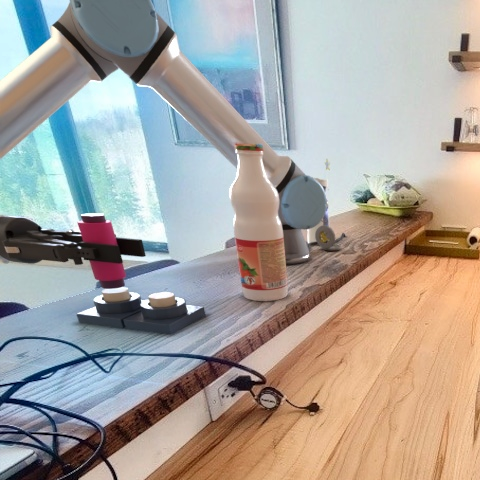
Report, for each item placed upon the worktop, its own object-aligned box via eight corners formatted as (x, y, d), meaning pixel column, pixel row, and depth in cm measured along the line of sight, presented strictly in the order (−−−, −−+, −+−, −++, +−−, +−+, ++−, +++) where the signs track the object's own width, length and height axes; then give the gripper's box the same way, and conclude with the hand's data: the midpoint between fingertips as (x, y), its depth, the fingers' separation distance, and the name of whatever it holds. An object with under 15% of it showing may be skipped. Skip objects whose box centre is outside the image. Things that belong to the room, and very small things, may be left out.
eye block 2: (164, 310, 80) (160, 292, 79) (205, 315, 79) (202, 297, 77) (125, 329, 72) (119, 309, 70) (171, 334, 71) (166, 314, 69)
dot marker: (111, 281, 76) (91, 211, 70) (134, 283, 76) (115, 214, 70) (91, 288, 72) (67, 215, 66) (115, 290, 72) (93, 217, 66)
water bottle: (317, 239, 149) (313, 157, 136) (336, 242, 145) (334, 158, 132) (300, 242, 142) (295, 156, 130) (320, 246, 139) (316, 158, 126)
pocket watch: (340, 247, 139) (339, 214, 134) (343, 252, 132) (342, 218, 127) (314, 247, 137) (313, 213, 132) (316, 252, 130) (315, 217, 125)
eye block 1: (122, 305, 82) (117, 287, 80) (162, 310, 80) (157, 292, 79) (79, 323, 73) (72, 303, 71) (123, 328, 72) (117, 308, 70)
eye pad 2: (160, 300, 76) (158, 290, 75) (181, 302, 75) (179, 293, 74) (145, 307, 73) (142, 297, 72) (166, 309, 72) (164, 299, 71)
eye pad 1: (116, 295, 77) (113, 285, 76) (135, 297, 77) (133, 288, 76) (98, 301, 74) (95, 292, 73) (119, 304, 73) (116, 294, 72)
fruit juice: (287, 302, 88) (273, 145, 74) (240, 302, 86) (216, 142, 72) (289, 289, 96) (277, 145, 82) (246, 289, 94) (225, 142, 80)
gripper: (62, 251, 83) (170, 263, 79) (-34, 273, 68) (95, 288, 64) (47, 210, 79) (161, 220, 76) (-58, 222, 64) (79, 235, 61)
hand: (130, 251), depth 70 cm, fingers closed on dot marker, 5 cm apart
